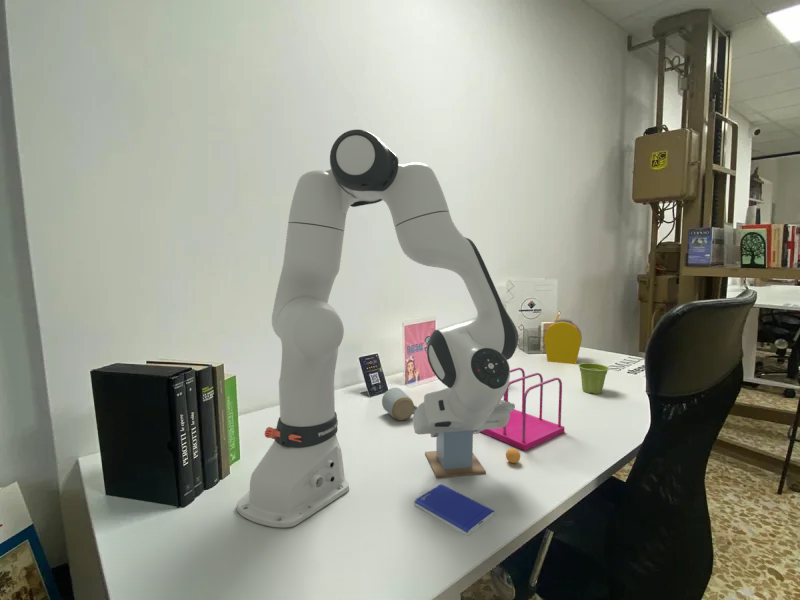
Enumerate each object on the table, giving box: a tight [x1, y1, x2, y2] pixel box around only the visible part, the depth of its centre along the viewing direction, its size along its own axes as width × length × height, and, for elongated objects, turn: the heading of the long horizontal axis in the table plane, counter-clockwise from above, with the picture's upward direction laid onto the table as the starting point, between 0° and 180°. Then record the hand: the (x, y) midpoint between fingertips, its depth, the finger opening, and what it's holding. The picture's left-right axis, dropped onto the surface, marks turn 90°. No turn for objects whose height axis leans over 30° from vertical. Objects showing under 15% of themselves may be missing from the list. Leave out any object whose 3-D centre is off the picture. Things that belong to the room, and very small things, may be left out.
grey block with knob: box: [435, 430, 474, 470], centre depth 95 cm, size 6×6×10 cm
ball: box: [505, 447, 521, 464], centre depth 96 cm, size 3×3×3 cm
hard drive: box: [413, 483, 495, 537], centre depth 79 cm, size 2×8×12 cm
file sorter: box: [479, 367, 565, 452], centre depth 115 cm, size 17×25×16 cm
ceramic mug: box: [381, 387, 418, 421], centre depth 123 cm, size 11×8×8 cm
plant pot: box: [578, 362, 610, 395], centre depth 144 cm, size 9×9×9 cm
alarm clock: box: [543, 318, 582, 365], centre depth 184 cm, size 15×8×18 cm, turn 66°
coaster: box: [424, 450, 487, 479], centre depth 96 cm, size 11×11×1 cm
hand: (454, 432), depth 95 cm, fingers open, 8 cm apart
